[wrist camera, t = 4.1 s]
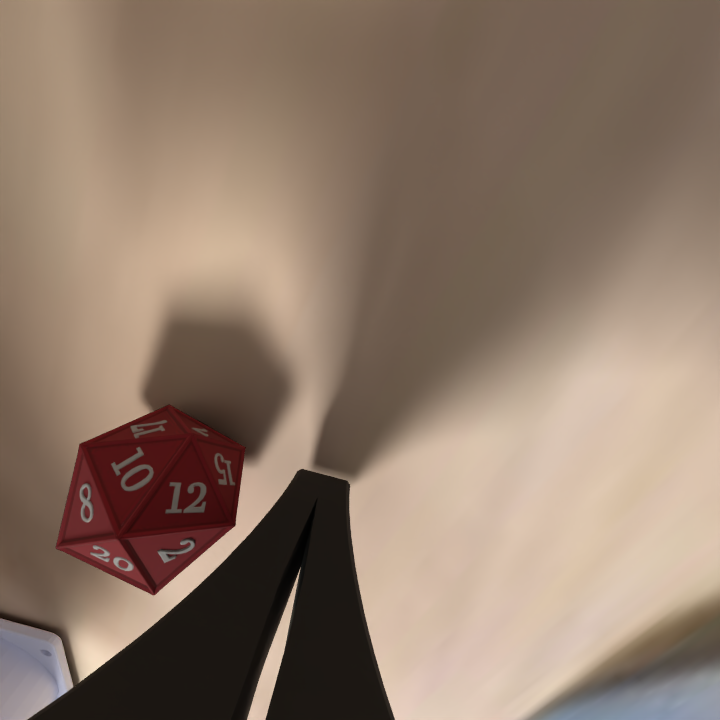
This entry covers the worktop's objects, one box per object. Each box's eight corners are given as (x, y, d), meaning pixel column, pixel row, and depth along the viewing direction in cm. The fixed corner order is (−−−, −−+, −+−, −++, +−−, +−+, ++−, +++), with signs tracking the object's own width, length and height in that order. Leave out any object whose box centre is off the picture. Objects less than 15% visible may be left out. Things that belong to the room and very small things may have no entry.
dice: (122, 456, 12) (-1, 577, 8) (167, 350, 10) (32, 449, 6) (230, 513, 13) (156, 649, 9) (292, 422, 11) (230, 551, 7)
